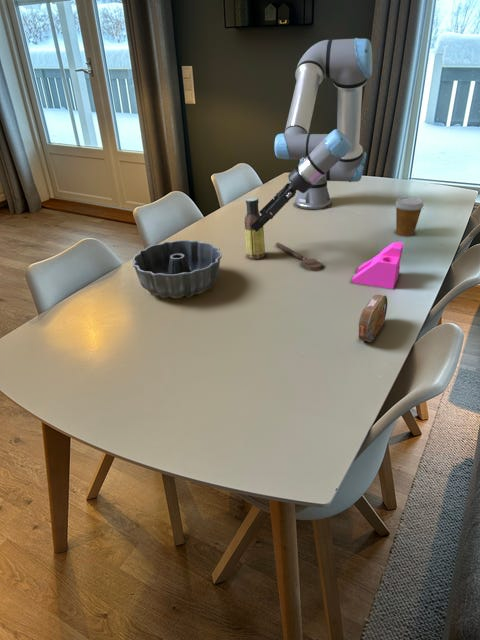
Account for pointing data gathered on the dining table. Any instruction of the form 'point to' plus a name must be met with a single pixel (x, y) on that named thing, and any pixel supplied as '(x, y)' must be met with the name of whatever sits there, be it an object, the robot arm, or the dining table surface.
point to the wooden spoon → (302, 258)
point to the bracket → (381, 268)
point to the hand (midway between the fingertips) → (257, 221)
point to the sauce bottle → (253, 231)
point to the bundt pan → (178, 268)
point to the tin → (372, 318)
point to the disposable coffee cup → (407, 215)
